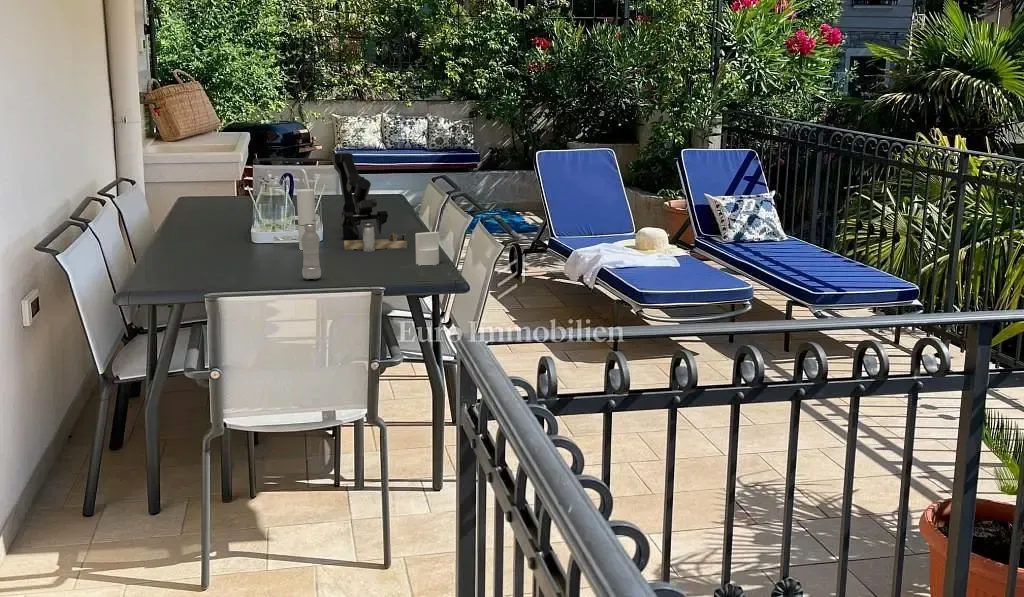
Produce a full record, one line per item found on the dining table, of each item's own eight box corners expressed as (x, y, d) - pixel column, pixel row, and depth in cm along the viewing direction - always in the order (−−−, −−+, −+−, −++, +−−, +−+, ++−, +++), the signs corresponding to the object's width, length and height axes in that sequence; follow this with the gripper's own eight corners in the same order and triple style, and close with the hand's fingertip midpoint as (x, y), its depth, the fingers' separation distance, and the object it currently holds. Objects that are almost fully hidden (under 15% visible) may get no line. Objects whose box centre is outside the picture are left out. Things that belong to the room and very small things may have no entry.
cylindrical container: (320, 249, 424) (317, 189, 418) (310, 252, 417) (307, 191, 412) (306, 247, 427) (303, 188, 421) (295, 250, 420) (292, 190, 415)
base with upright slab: (421, 266, 388) (420, 235, 385) (412, 262, 396) (411, 232, 393) (442, 264, 392) (442, 233, 389) (433, 260, 400) (433, 230, 397)
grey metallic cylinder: (363, 251, 418) (362, 224, 415) (362, 249, 423) (361, 222, 420) (376, 251, 419) (375, 223, 416) (375, 249, 424) (374, 222, 421)
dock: (344, 249, 422) (344, 236, 421) (344, 246, 430) (343, 233, 428) (407, 247, 427) (406, 234, 425) (405, 244, 434) (405, 231, 433)
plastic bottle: (303, 277, 368) (300, 223, 363) (322, 277, 368) (320, 223, 364) (301, 281, 362) (298, 226, 357) (320, 281, 362) (318, 225, 357)
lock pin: (389, 241, 427) (389, 235, 427) (389, 240, 430) (389, 234, 429) (406, 240, 429) (406, 234, 428) (406, 239, 431) (405, 233, 431)
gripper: (342, 193, 416) (350, 223, 408) (386, 191, 423) (394, 220, 415) (338, 210, 424) (346, 240, 417) (381, 207, 432) (389, 237, 424)
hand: (369, 234), depth 418 cm, fingers open, 9 cm apart
